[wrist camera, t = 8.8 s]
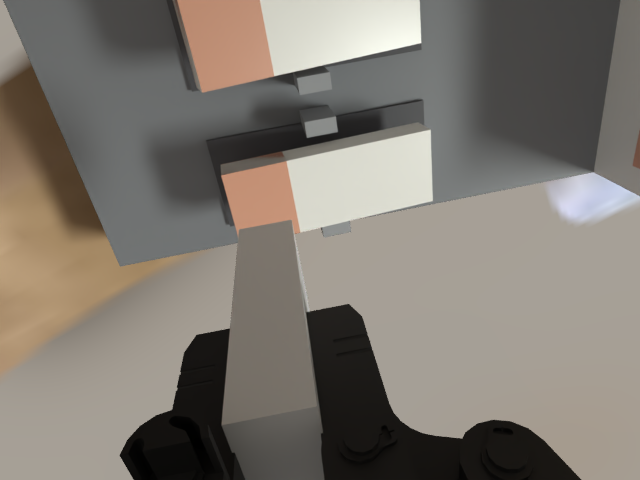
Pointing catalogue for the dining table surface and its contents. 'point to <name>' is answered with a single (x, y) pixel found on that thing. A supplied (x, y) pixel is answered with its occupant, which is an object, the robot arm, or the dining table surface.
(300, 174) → the switch
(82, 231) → the dining table surface
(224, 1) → the switch
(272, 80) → the switch unit
